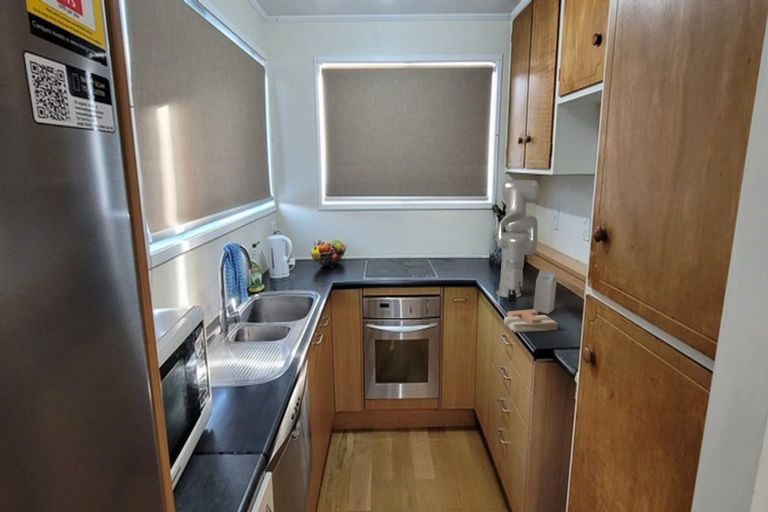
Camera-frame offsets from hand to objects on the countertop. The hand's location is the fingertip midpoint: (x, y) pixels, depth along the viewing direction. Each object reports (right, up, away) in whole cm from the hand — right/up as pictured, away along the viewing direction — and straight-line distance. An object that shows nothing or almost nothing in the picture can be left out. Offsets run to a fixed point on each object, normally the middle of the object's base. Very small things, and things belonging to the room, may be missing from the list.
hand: (511, 301), depth 203 cm
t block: (+3, -8, -14) cm, 16 cm away
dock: (+3, -9, -17) cm, 20 cm away
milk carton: (+16, -5, +4) cm, 17 cm away
